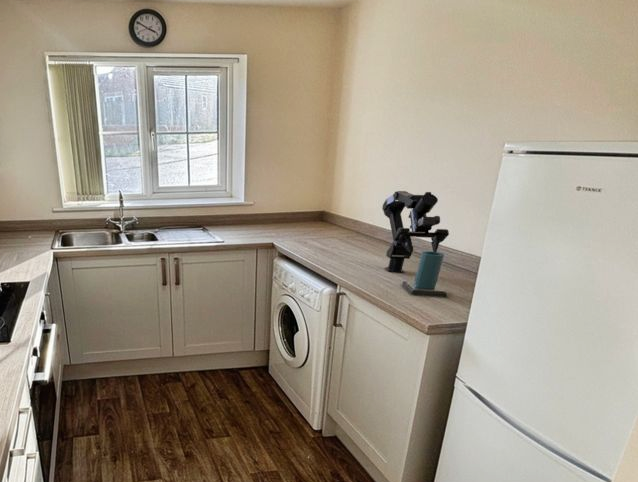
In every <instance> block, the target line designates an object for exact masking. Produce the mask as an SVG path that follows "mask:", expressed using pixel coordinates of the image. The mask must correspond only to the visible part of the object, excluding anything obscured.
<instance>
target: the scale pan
mask: <svg viewBox="0 0 638 482" xmlns="http://www.w3.org/2000/svg"><path fill="white" fill-rule="evenodd" d="M414 282H415V281H408V280H406V283H407V284H408V285H409V286H410V287H411V288H412V289H413V290H416V291H430V292H444V293H445V292H446V293H447V291H446V290H445V289H444V288H443V287H442V286H441V285H439V284H438V283H436V286H435V288H421V287H417V286H415V285H414Z"/></svg>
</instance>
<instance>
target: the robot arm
mask: <svg viewBox="0 0 638 482" xmlns="http://www.w3.org/2000/svg"><path fill="white" fill-rule="evenodd" d="M438 201H439V199H438V197H437V196H436V195H434V194H432V191H425V193H424V194H413V193H410V192H408V191H406V190H397V191H394V193H393V194H392V195H390V196H388V197H387V198H386V199H385V200H384V202H383V203H382V211H383V214H384V216H385V217H386V218H388V219H389V225H390V229H391V234H392V240H393V241H392V243H391V244H390V246H389V248H388V249H387V250H386V255H385V256H386V257H387V258H389V262H388V266H385V269H386V271H387V272H390V273H392V272H393V273H405V270H403V267H404V262H405V259H407V260H409V259H410V258H411V256H412V254H413V252H414V246H413V242H412V238H413V237H414V238H427V239H428V238H429V239H430V240H431V249H432V252H437V251H438V248H439V246H440V243H443V242H444V241H445V240H446V238H447V237H449V236H450V232H449V229H446V228H437V229H436V230H435V231H433V232H432V231H431V230H432V227H433V226H437V225H439V224H440V223H441V216H440V215H434V216H428V215H427V214H429V213H430V212H431V211H432V210H433V208H434V207H435V206H436V205H437V203H438ZM405 208H406V209H411V210H410V211H409V215H408V216H407V217H408V219H410V225H409V227H404V222H403V219H402V212H403V210H405ZM410 230H411V231H410ZM429 231H431V232H429Z"/></svg>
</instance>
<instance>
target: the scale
mask: <svg viewBox="0 0 638 482" xmlns="http://www.w3.org/2000/svg"><path fill="white" fill-rule="evenodd" d="M406 281H407V280H406ZM406 281H405V280H403V281H402V283H401V285H402V286H403V287H404V288H405V289H406V291H407V292H409V294H410V295H411V296H412V295H413V296H425V297H438V298H439V297H441V298H447V297H448V293H447V291H446V292H445V293H444V292H430V291H416V290H413V289H412V288H411V287H410V286H409V285H408V284H407V283H406Z"/></svg>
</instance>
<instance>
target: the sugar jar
mask: <svg viewBox="0 0 638 482" xmlns="http://www.w3.org/2000/svg"><path fill="white" fill-rule="evenodd" d="M444 258H445V253H442V252H439V251H438V252H433V251H427V250H426V251H422V252H421V256H420V260H419V263H418V267H417V272H416V275H415V279H414V281H413V282H414V285H415V286H417V287H421V288H435V286H436V284H437V282H438V279H439V275H440V271H441V267H442V264H443V261H444Z"/></svg>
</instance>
